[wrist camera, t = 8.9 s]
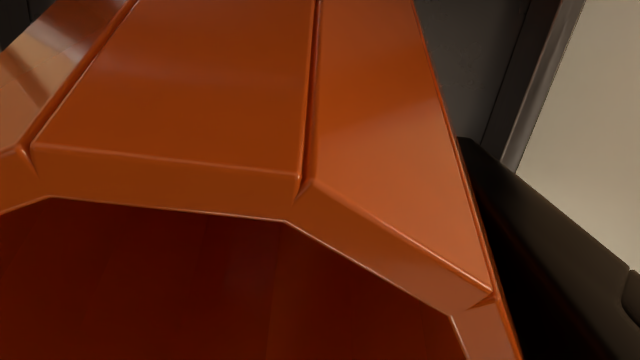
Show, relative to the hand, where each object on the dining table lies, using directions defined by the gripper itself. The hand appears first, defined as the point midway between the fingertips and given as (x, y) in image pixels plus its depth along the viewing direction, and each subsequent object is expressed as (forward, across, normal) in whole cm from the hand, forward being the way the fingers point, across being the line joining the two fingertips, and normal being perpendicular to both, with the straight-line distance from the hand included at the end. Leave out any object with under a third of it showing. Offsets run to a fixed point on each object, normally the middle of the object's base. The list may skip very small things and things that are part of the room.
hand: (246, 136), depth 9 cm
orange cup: (+2, 0, 0) cm, 2 cm away
